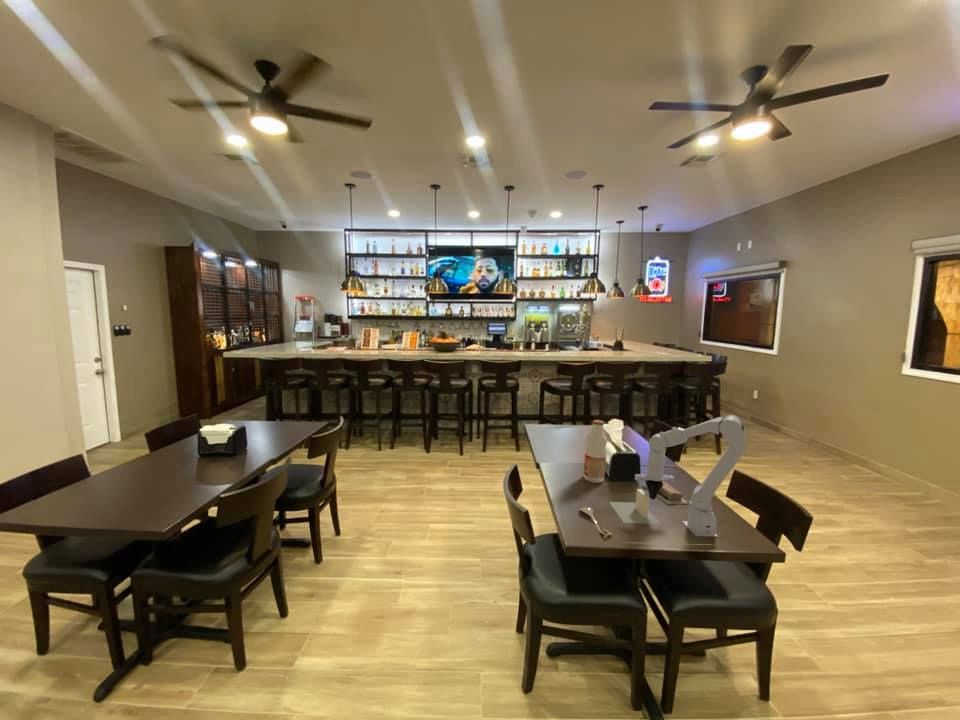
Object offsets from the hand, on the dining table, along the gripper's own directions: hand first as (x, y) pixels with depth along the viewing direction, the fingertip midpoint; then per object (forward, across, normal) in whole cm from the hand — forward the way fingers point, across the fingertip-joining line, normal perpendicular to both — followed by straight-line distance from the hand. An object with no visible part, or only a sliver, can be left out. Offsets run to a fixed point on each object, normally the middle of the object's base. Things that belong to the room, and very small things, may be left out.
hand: (652, 498), depth 154 cm
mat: (+6, +7, 0) cm, 9 cm away
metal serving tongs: (+7, +24, +8) cm, 27 cm away
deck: (+6, +4, 0) cm, 7 cm away
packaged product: (+7, -14, -17) cm, 23 cm away
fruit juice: (+7, +13, -31) cm, 34 cm away
